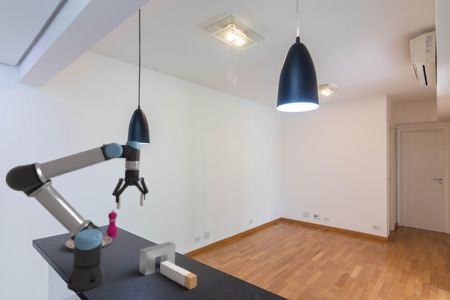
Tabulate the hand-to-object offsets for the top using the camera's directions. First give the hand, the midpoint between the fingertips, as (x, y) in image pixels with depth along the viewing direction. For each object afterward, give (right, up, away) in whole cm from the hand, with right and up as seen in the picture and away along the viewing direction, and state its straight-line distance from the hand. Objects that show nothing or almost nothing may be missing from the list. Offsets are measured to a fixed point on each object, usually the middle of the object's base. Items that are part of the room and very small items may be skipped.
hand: (130, 207), depth 136 cm
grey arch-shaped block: (+16, -32, -4) cm, 36 cm away
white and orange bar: (+29, -32, -16) cm, 46 cm away
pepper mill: (-32, -33, +46) cm, 65 cm away
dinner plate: (-38, -33, +28) cm, 57 cm away
